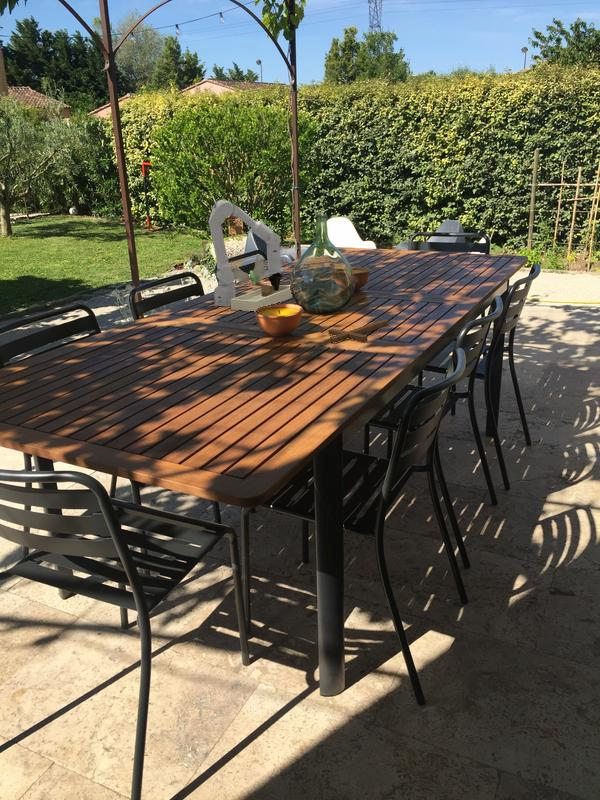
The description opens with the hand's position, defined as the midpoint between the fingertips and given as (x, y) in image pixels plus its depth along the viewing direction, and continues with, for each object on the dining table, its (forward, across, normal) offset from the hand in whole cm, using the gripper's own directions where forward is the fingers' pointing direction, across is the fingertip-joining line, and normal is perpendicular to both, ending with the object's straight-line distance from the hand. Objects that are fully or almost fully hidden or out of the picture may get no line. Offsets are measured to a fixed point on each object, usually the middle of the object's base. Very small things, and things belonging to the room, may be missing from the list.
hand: (275, 290), depth 290 cm
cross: (+4, -41, -61) cm, 73 cm away
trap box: (+3, -10, 0) cm, 10 cm away
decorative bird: (+4, +23, +30) cm, 38 cm away
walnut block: (+1, -7, 0) cm, 7 cm away
